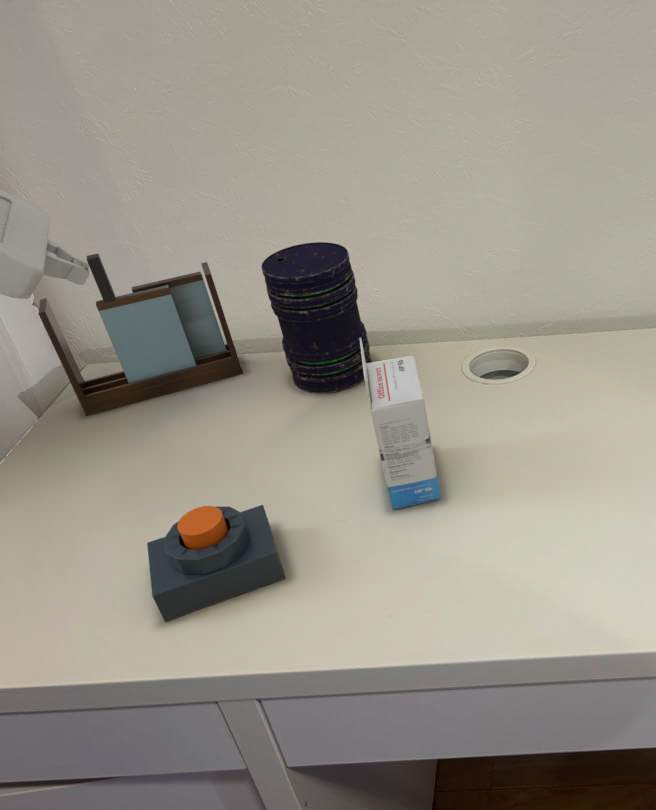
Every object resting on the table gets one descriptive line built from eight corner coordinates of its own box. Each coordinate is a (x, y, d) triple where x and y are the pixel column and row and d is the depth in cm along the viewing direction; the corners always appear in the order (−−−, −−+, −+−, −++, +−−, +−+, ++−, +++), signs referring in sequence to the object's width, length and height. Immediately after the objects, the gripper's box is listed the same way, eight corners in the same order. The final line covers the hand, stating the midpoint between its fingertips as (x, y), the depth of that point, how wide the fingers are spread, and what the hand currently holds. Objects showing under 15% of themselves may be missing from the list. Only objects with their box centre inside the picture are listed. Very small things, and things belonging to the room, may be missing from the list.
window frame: (86, 416, 93) (37, 313, 86) (86, 399, 96) (39, 299, 89) (243, 373, 99) (211, 273, 91) (238, 359, 102) (207, 261, 94)
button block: (165, 622, 66) (144, 580, 63) (159, 568, 71) (139, 527, 68) (286, 578, 69) (271, 536, 66) (271, 530, 75) (257, 489, 72)
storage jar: (382, 350, 101) (359, 240, 93) (362, 393, 93) (335, 276, 85) (306, 352, 102) (277, 243, 94) (280, 394, 94) (246, 279, 86)
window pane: (130, 388, 94) (77, 261, 85) (130, 384, 95) (77, 257, 86) (198, 370, 97) (153, 245, 88) (197, 366, 98) (152, 241, 89)
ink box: (443, 500, 76) (420, 370, 68) (391, 511, 76) (362, 381, 67) (431, 449, 83) (409, 325, 75) (383, 459, 83) (356, 335, 74)
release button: (186, 555, 66) (179, 540, 65) (181, 529, 68) (175, 514, 67) (230, 540, 67) (224, 525, 66) (225, 515, 70) (219, 500, 69)
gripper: (-61, 204, 87) (73, 266, 95) (-92, 270, 71) (71, 336, 80) (-33, 155, 86) (99, 222, 94) (-59, 211, 70) (102, 284, 79)
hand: (86, 275), depth 87 cm, fingers closed, pressing on window pane
